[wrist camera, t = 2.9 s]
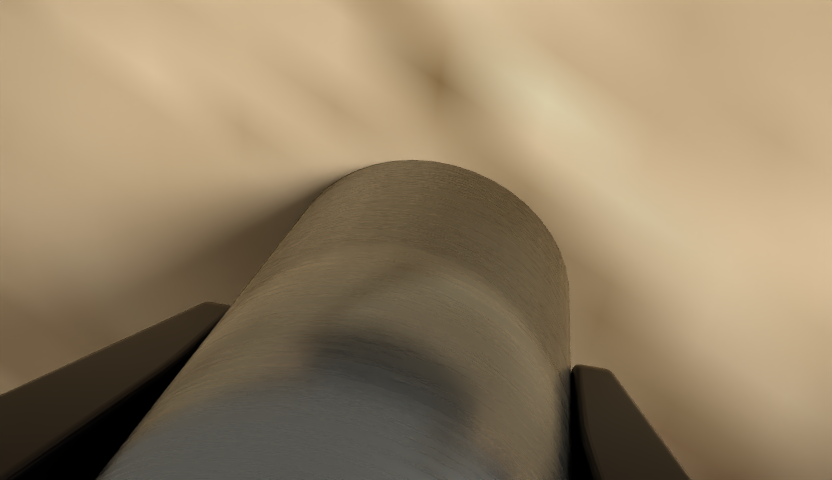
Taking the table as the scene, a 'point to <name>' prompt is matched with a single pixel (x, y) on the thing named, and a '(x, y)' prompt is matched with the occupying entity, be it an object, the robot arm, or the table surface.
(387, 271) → the battery cell
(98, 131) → the table surface
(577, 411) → the robot arm
